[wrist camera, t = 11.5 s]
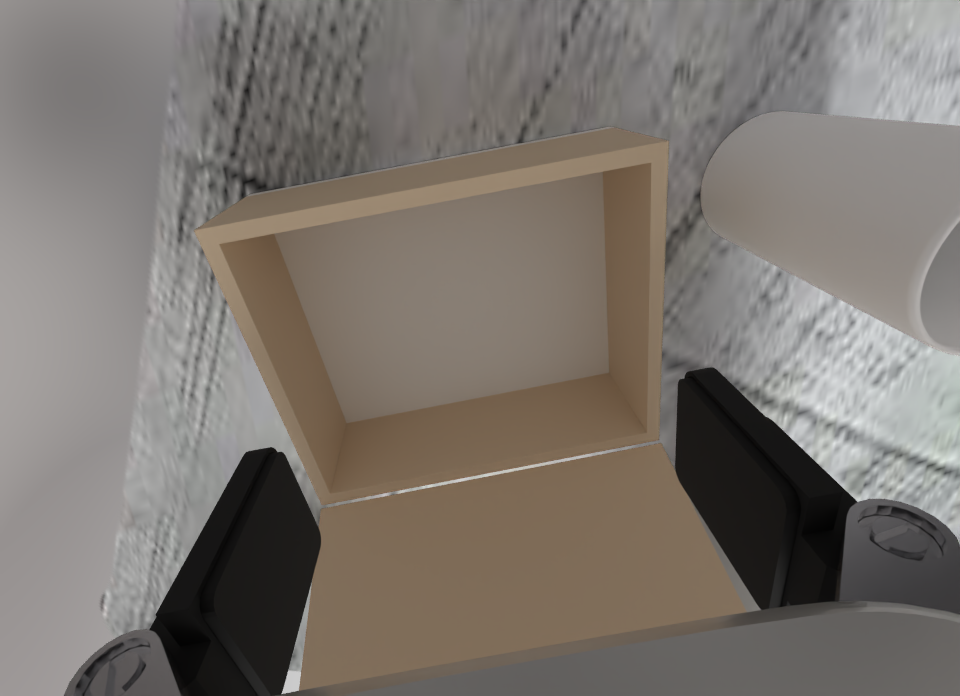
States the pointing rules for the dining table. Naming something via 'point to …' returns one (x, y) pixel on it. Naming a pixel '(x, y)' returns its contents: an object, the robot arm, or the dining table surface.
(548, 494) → the lid
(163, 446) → the dining table surface
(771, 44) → the dining table surface
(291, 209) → the mailer box
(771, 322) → the dining table surface
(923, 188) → the cup
